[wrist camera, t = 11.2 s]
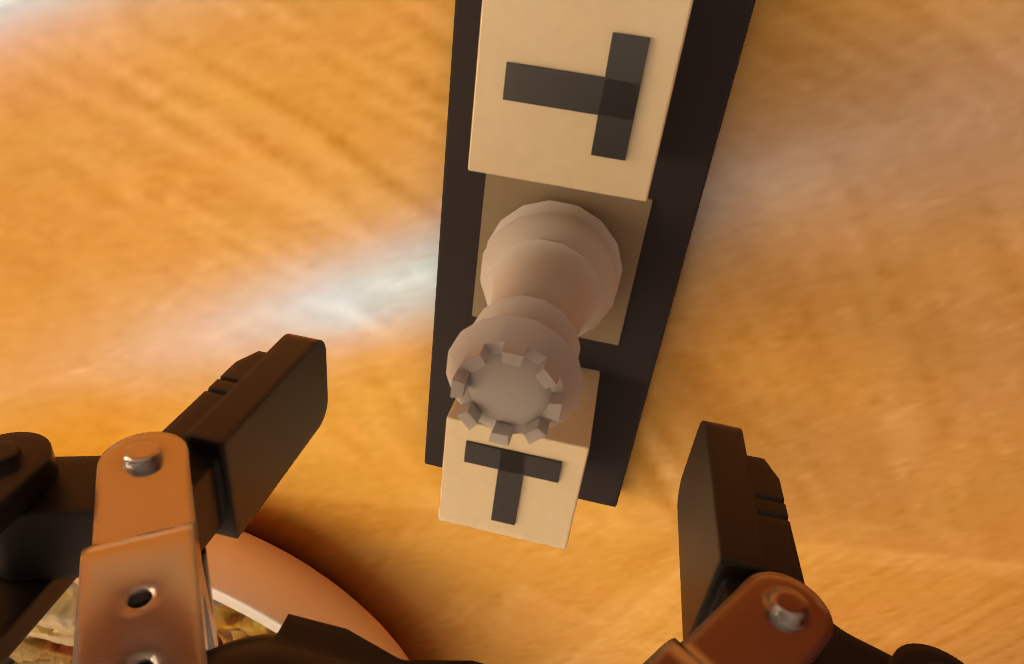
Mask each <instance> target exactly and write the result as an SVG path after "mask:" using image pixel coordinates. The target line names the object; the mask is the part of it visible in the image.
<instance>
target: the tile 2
mask: <svg viewBox="0 0 1024 664" xmlns="http://www.w3.org/2000/svg"><path fill="white" fill-rule="evenodd" d="M693 1H694V0H482V10H481V22H480V33H479V45H478V57H477V69H476V80H475V92H474V104H473V116H472V127H471V139H470V151H469V162H468V169H469V170H470V171H475V172H481V173H486V174H492V175H498V176H503V177H509V178H515V179H520V180H526V181H532V182H537V183H543V184H549V185H554V186H560V187H566V188H571V189H577V190H583V191H589V192H594V193H600V194H606V195H611V196H617V197H623V198H628V199H634V200H640V201H646V200H647V199H648V194H649V190H650V186H651V181H652V177H653V173H654V169H655V164H656V160H657V156H658V151H659V147H660V143H661V138H662V134H663V130H664V125H665V121H666V117H667V113H668V108H669V104H670V100H671V95H672V91H673V87H674V82H675V78H676V74H677V69H678V65H679V61H680V57H681V52H682V48H683V44H684V39H685V35H686V31H687V26H688V22H689V18H690V14H691V9H692V5H693Z"/></svg>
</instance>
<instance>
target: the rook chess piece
mask: <svg viewBox="0 0 1024 664" xmlns="http://www.w3.org/2000/svg"><path fill="white" fill-rule="evenodd" d="M622 270H623V269H622V264H621V259H620V254H619V248H618V244H617V242H616V241H615V239H614V238H613V236H612V235H611V234H610V232H609V231H608V229H607V228H606V226H605V225H604V223H603V222H602V221H601V220H599V219H598V218H596V217H595V216H593V215H592V214H590V213H589V212H587V211H585V210H584V209H582V208H581V207H579V206H577V205H572V204H567V203H562V202H557V201H551V200H548V201H543V202H538V203H533V204H528V205H523V206H521V207H520V208H518V209H517V210H515V211H514V212H512V213H511V214H509V215H508V216H507V217H505V218H504V219H502V220H501V221H500V222H499V224H498V226H497V227H496V229H495V231H494V232H493V234H492V235H491V237H490V239H489V240H488V242H487V248H486V249H485V251H484V253H483V259H482V267H481V275H480V281H481V286H482V289H483V292H484V296H485V299H486V302H487V307H486V308H484V309H483V310H482V312H481V313H480V315H479V316H478V318H477V319H476V321H475V322H474V324H472V325H471V326H469V327H468V328H466V329H464V330H463V331H461V332H460V334H459V335H458V337H457V338H456V340H455V341H454V343H453V344H452V346H451V348H450V349H449V351H448V359H447V368H446V375H447V378H448V381H449V384H450V387H451V395H450V397H451V398H456V399H457V400H458V401H459V403H460V404H461V406H460V409H459V411H458V413H457V417H458V418H459V419H460V420H461V421H462V422H463V424H464V425H465V426H466V427H467V428H468V429H469V430H471V429H472V428H473V427H475V426H476V425H477V424H478V422H481V423H482V424H484V425H486V426H487V427H489V428H491V429H492V431H491V434H490V437H489V440H488V442H492V443H496V444H501V445H505V446H509V444H510V440H511V437H512V434H522V433H524V436H525V438H526V440H527V442H528V443H529V444H531V443H534V442H536V441H538V440H540V439H542V438H544V437H546V436H547V432H548V429H549V428H551V427H553V426H555V425H557V424H559V423H561V422H563V421H565V419H566V418H567V417H568V416H569V415H570V413H571V412H572V411H573V410H574V409H575V407H576V406H577V405H578V404H579V400H580V396H581V392H582V387H583V383H584V380H583V375H582V371H581V367H580V363H579V359H578V357H579V353H580V344H579V339H578V337H580V336H581V335H583V334H585V333H587V332H589V331H591V330H592V329H594V328H595V327H596V326H597V325H598V324H599V323H600V321H601V320H602V319H603V317H604V316H605V315H606V314H607V312H608V311H609V310H610V309H611V307H612V306H613V303H614V299H615V296H616V294H617V291H618V286H619V282H620V278H621V274H622Z"/></svg>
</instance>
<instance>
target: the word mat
mask: <svg viewBox="0 0 1024 664" xmlns="http://www.w3.org/2000/svg"><path fill="white" fill-rule="evenodd" d="M755 1H756V0H694V1H693V5H692V9H691V14H690V18H689V22H688V26H687V31H686V35H685V39H684V44H683V48H682V52H681V57H680V61H679V65H678V69H677V74H676V78H675V82H674V87H673V91H672V95H671V100H670V104H669V108H668V113H667V117H666V121H665V125H664V130H663V134H662V138H661V143H660V147H659V151H658V156H657V160H656V164H655V169H654V173H653V177H652V181H651V186H650V190H649V194H648V199H647V200H646V201H640V200H634V199H628V198H623V197H617V196H611V195H606V194H600V193H594V192H589V191H583V190H577V189H571V188H566V187H560V186H554V185H549V184H543V183H537V182H532V181H526V180H520V179H515V178H509V177H503V176H498V175H492V174H486V173H481V172H475V171H470V170H469V169H468V162H469V151H470V139H471V127H472V116H473V104H474V92H475V80H476V69H477V57H478V45H479V33H480V22H481V10H482V0H456V1H455V16H454V31H453V46H452V61H451V76H450V91H449V106H448V121H447V136H446V151H445V166H444V181H443V196H442V211H441V226H440V241H439V256H438V271H437V286H436V301H435V316H434V331H433V346H432V361H431V376H430V391H429V406H428V421H427V436H426V451H425V463H426V464H430V465H434V466H438V467H443V456H444V444H445V432H446V420H447V416H448V414H449V412H450V410H451V408H452V405H453V403H454V401H455V399H456V398H451V397H450V395H451V387H450V384H449V381H448V378H447V375H446V368H447V359H448V351H449V349H450V348H451V346H452V344H453V343H454V341H455V340H456V338H457V337H458V335H459V334H460V332H461V331H463V330H464V329H466V328H468V327H469V326H471V325H472V324H474V322H475V321H476V319H477V318H478V316H479V315H480V313H481V312H482V310H483V309H484V308H486V307H487V302H486V299H485V296H484V292H483V289H482V286H481V281H480V275H481V267H482V259H483V253H484V251H485V249H486V248H487V242H488V240H489V239H490V237H491V235H492V234H493V232H494V231H495V229H496V227H497V226H498V224H499V222H500V221H501V220H502V219H504V218H505V217H507V216H508V215H509V214H511V213H512V212H514V211H515V210H517V209H518V208H520V207H521V206H523V205H528V204H533V203H538V202H543V201H548V200H551V201H557V202H562V203H567V204H572V205H577V206H579V207H581V208H582V209H584V210H585V211H587V212H589V213H590V214H592V215H593V216H595V217H596V218H598V219H599V220H601V221H602V222H603V223H604V225H605V226H606V228H607V229H608V231H609V232H610V234H611V235H612V236H613V238H614V239H615V241H616V242H617V244H618V248H619V254H620V259H621V264H622V269H623V270H622V274H621V278H620V282H619V286H618V291H617V294H616V296H615V299H614V303H613V306H612V307H611V309H610V310H609V311H608V312H607V314H606V315H605V316H604V317H603V319H602V320H601V321H600V323H599V324H598V325H597V326H596V327H595V328H594V329H592V330H591V331H589V332H587V333H585V334H583V335H581V336H580V337H578V339H579V344H580V353H579V357H578V359H579V363H580V367H582V368H587V369H592V370H597V371H600V377H599V384H598V391H597V398H596V405H595V412H594V419H593V427H592V434H591V441H590V448H589V453H588V457H587V461H586V466H585V470H584V474H583V478H582V483H581V487H580V491H579V496H578V499H583V500H587V501H591V502H596V503H600V504H605V505H609V506H613V507H615V506H616V505H617V502H618V498H619V494H620V491H621V487H622V484H623V480H624V476H625V473H626V469H627V465H628V462H629V458H630V455H631V451H632V447H633V444H634V440H635V436H636V433H637V429H638V425H639V422H640V418H641V415H642V411H643V407H644V404H645V400H646V396H647V393H648V389H649V386H650V382H651V378H652V375H653V371H654V367H655V364H656V360H657V357H658V353H659V349H660V346H661V342H662V338H663V335H664V331H665V327H666V324H667V320H668V317H669V313H670V309H671V306H672V302H673V298H674V295H675V291H676V288H677V284H678V280H679V277H680V273H681V269H682V266H683V262H684V259H685V255H686V251H687V248H688V244H689V240H690V237H691V233H692V229H693V226H694V222H695V219H696V215H697V211H698V208H699V204H700V200H701V197H702V193H703V190H704V186H705V182H706V179H707V175H708V171H709V168H710V164H711V161H712V157H713V153H714V150H715V146H716V142H717V139H718V135H719V131H720V128H721V124H722V121H723V117H724V113H725V110H726V106H727V102H728V99H729V95H730V92H731V88H732V84H733V81H734V77H735V73H736V70H737V66H738V63H739V59H740V55H741V52H742V48H743V44H744V41H745V37H746V33H747V30H748V26H749V23H750V19H751V15H752V12H753V8H754V4H755Z"/></svg>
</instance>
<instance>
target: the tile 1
mask: <svg viewBox="0 0 1024 664" xmlns="http://www.w3.org/2000/svg"><path fill="white" fill-rule="evenodd" d="M581 371H582V375H583V380H584V383H583V387H582V392H581V396H580V400H579V404H578V405H577V406H576V407H575V409H574V410H573V411H572V412H571V413H570V415H569V416H568V417H567V418H566V419H565V421H563V422H561V423H559V424H557V425H555V426H553V427H551V428H549V429H548V432H547V436H546V437H544V438H542V439H540V440H538V441H536V442H534V443H531V444H529V443H528V442H527V440H526V438H525V436H524V433H522V434H512V437H511V440H510V444H509V446H505V445H501V444H496V443H492V442H488V440H489V437H490V434H491V431H492V429H491V428H489V427H487V426H486V425H484V424H482V423H481V422H478V424H477V425H476V426H475V427H473V428H472V429H471V430H469V429H468V428H467V427H466V426H465V425H464V424H463V422H462V421H461V420H460V419H459V418H458V417H457V413H458V411H459V409H460V406H461V404H460V403H459V401H458V400H457V399H455V401H454V403H453V405H452V408H451V410H450V412H449V414H448V416H447V420H446V432H445V444H444V456H443V467H442V479H441V491H440V502H439V514H438V519H439V520H441V521H445V522H450V523H454V524H458V525H462V526H466V527H471V528H475V529H479V530H483V531H487V532H491V533H496V534H500V535H504V536H508V537H512V538H517V539H521V540H525V541H529V542H533V543H538V544H542V545H546V546H550V547H554V548H559V549H563V550H565V549H566V547H567V543H568V539H569V534H570V530H571V526H572V521H573V517H574V513H575V509H576V504H577V500H578V496H579V491H580V487H581V483H582V478H583V474H584V470H585V466H586V461H587V457H588V453H589V448H590V441H591V434H592V427H593V419H594V412H595V405H596V398H597V391H598V384H599V377H600V371H597V370H592V369H587V368H582V367H581Z"/></svg>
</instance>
